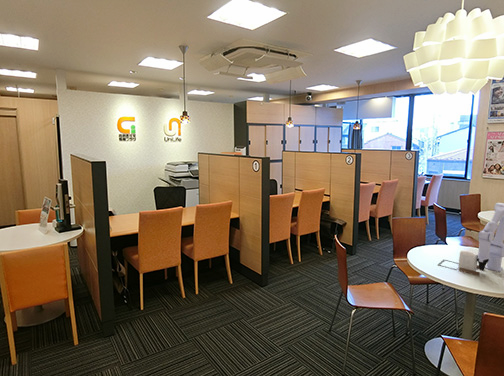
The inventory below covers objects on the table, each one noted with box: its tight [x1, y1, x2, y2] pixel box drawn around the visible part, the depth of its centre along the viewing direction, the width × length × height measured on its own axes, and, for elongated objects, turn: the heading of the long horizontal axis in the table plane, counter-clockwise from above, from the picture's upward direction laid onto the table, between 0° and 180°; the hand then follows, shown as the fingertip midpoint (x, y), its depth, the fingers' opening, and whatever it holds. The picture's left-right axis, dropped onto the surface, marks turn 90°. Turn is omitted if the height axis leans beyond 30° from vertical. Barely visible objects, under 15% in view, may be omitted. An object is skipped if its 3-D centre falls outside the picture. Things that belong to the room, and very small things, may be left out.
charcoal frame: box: [437, 259, 459, 271], centre depth 211 cm, size 15×12×1 cm
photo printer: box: [457, 249, 478, 271], centre depth 202 cm, size 10×4×12 cm, turn 29°
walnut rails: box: [458, 264, 481, 277], centre depth 202 cm, size 14×11×2 cm
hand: (481, 269), depth 198 cm, fingers closed
